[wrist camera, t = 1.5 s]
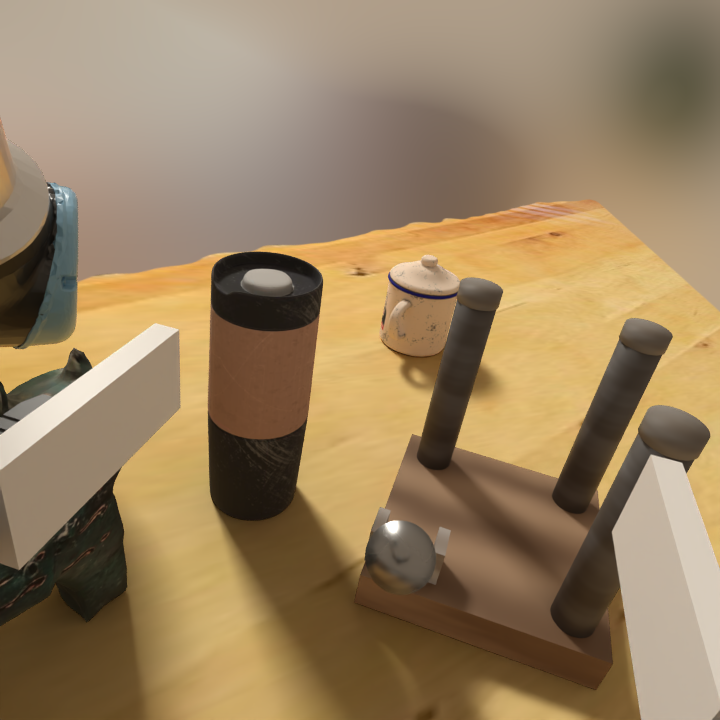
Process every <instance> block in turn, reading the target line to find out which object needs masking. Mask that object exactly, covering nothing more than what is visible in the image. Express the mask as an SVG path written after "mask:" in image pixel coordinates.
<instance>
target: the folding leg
mask: <svg viewBox="0 0 720 720" xmlns="http://www.w3.org/2000/svg"><path fill="white" fill-rule="evenodd" d="M365 561H366V567H367V570H368V572H369V575H370V576H371V578H372V580H373V581H374V582H375V583H376V584H377V585H378V586H379V587H380V588H381V589H383V590H385V591H386V592H389V593H392V594H396V595H407V594H411V593H414V592H416V591H418V590H420V589H421V588H423V587H424V586H425V585H426V584H427V583H428V581H429V580H430V579H431V577H432V575H433V572H434V570H435V565H436V552H435V548H434V545H433V542H432V540H431V539H430V537H429V535H428V534H427V533H426V532H425V531H424V530H423V529H422V528H421V527H419V526H418V525H416V524H414V523H411V522H408V521H402V520H401V521H392V522H388V523H386V524H384V525H382V526H381V527H379V528H378V529H377V530H376V531H375V532H374V533H373V535H372V536H371V537H370V539H369V541H368V544H367V547H366V553H365Z"/></svg>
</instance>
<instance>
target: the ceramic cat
mask: <svg viewBox="0 0 720 720" xmlns="http://www.w3.org/2000/svg"><path fill="white" fill-rule="evenodd" d="M91 369H92V366H91V364H90V362H89V360H88V359H87V358H86V356H85V354H84V352H81V351H79V350H77V349H75V348H73V350H72V351H71V352H70V355H69V359H68V363H67V365H66V366H65V367H64V368H61V369H57V370H53V371H50V372H47V373H45V374H42V375H40V376H37V377H35V378H32V379H31V380H29V381H27V382H25V383H23V384H21V385H19V386H17V387H16V388H15V389H13V390H12V391H11V392H10V393H8V394H6V392H5V390H4V386H3V384H2V383H1V382H0V417H1V418H2V417H3V414H5V413H6V412H8V411H9V410H10V409H12V408H13V407H15V406H16V405H18V404H19V403H21V402H23V401H26V400H29V399H31V398H34V397H37V396H39V395H42V394H45V395H48V396H51V397H53V396H55V395H56V394H58V393H59V392H60V391H62V390H63V389H65V388H66V387H67V386H69V385H70V384H72V383H73V382H74V381H76V380H77V379H78V378H80V377H81V376H83V375H84V374H85V373H87V372H88V371H90V370H91ZM120 469H121V468H120ZM120 469H119V470H118V471H117V472H116V473H115V474H114V475H113V476H112V477H111V478H110V479H109V480H108V481H107V482H106V483H105V484H104V485H103V486H102V487H101V488H100V489H99V490H98V491H97V492H96V493H95V494H94V495H93V496H92V497H91V498H90V499H89V500H88V501H87V502H86V503H85V504H84V505H83V506H82V507H81V508H80V509H79V510H78V511H77V512H76V513H75V514H74V515H73V516H72V517H71V518H70V519H69V520H68V521H67V522H66V523H65V524H64V525H63V527H62V528H61V529H60V530H59V531H58V532H57V533H56V534H55V535H54V536H53V537H52V538H51V539H50V540H49V541H48V542H47V543H46V544H45V545H44V546H43V547H42V548H41V549H40V550H39V551H38V552H37V553H36V554H35V555H34V556H33V557H32V558H31V559H30V560H29V561H28V562H27V563H26V564H25V565H24V566H23V567H22V568H21V569H20V570H18V569H15V568H12V567H9V566H6V565H4V564H1V563H0V626H1V625H3V624H5V623H6V622H8V621H10V620H11V619H13V618H15V617H16V616H18V615H20V614H21V613H23V612H24V611H26V610H28V609H29V608H31V607H33V606H34V605H36V604H38V603H39V602H41V601H43V600H44V599H46V598H47V597H48V596H49V595H50V594H51V592H52V589H53V587H54V584H55V583H56V585H57V588H58V590H59V593H60V595H61V597H62V599H63V600H64V601H65V603H66V604H67V605H68V606H69V607H70V608H72V609H73V610H74V611H76V612H77V613H78V614H80V615H81V616H82V617H83V618H84V619H85V621H86V622H88V621H89V620H90V619H91V618H93V617H94V616H95V615H96V613H97V612H98V611H99V610H100V609H101V608H102V607H103V606H104V605H106V604H107V603H108V602H110V601H111V600H113V599H114V598H116V597H117V596H119V595H120V594H122V593H123V592H124V591H126V588H127V576H126V573H127V567H126V561H125V554H124V546H123V537H124V529H123V524H122V521H121V517H120V514H119V510H118V506H117V502H116V499H115V496H114V494H113V486H114V482H115V480H116V477H117V475H118V473H119V471H120Z"/></svg>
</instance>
